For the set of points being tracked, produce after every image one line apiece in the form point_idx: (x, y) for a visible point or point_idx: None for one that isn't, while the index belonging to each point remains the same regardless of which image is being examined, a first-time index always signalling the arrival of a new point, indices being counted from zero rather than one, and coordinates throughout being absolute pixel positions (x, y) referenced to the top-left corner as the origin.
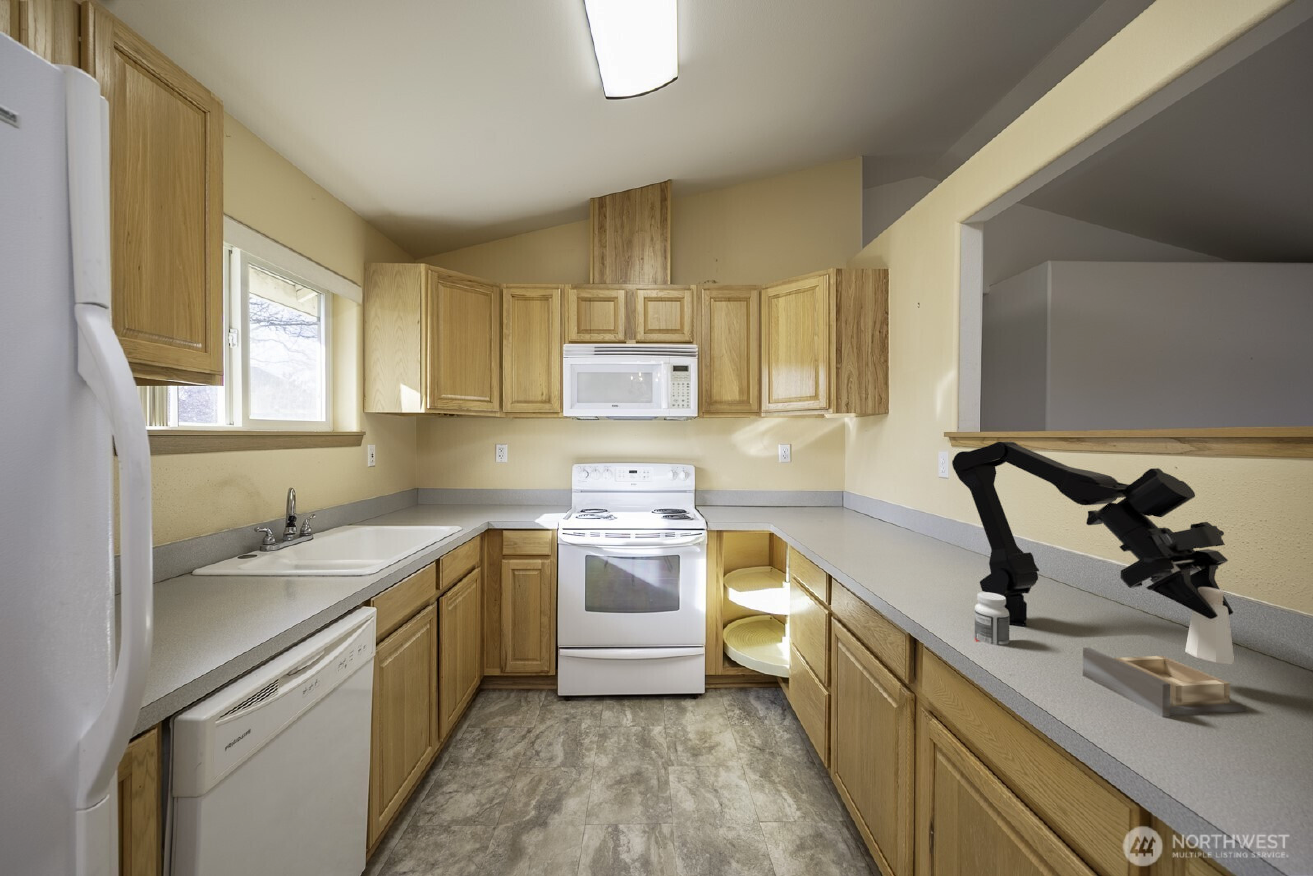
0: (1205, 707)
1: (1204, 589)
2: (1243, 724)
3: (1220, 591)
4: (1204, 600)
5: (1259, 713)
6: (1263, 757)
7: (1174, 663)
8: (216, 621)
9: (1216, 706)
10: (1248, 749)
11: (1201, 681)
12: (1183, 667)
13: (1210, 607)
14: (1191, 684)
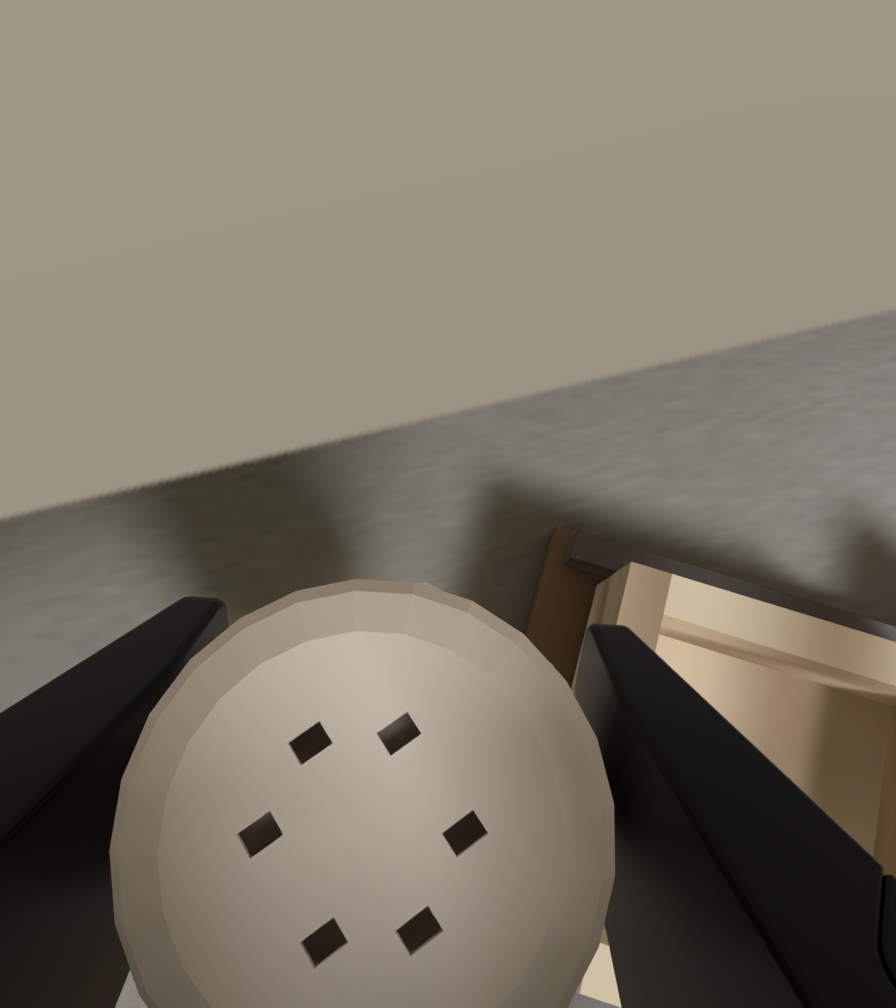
0: (803, 604)
1: (582, 899)
2: (627, 534)
3: (407, 618)
4: (708, 776)
5: (422, 545)
6: (866, 407)
7: None
8: None
9: (731, 587)
10: (856, 449)
11: (775, 642)
12: None
13: (659, 686)
14: (888, 646)
